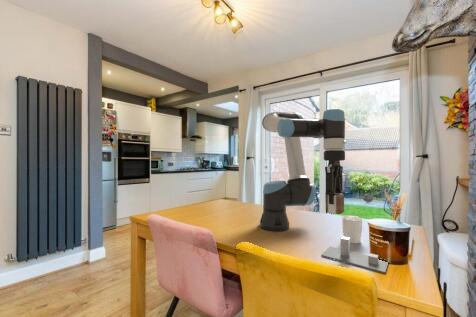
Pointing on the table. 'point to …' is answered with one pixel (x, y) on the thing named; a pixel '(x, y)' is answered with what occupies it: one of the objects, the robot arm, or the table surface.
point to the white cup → (352, 228)
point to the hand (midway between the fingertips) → (334, 211)
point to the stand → (358, 259)
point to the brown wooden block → (337, 203)
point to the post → (345, 246)
